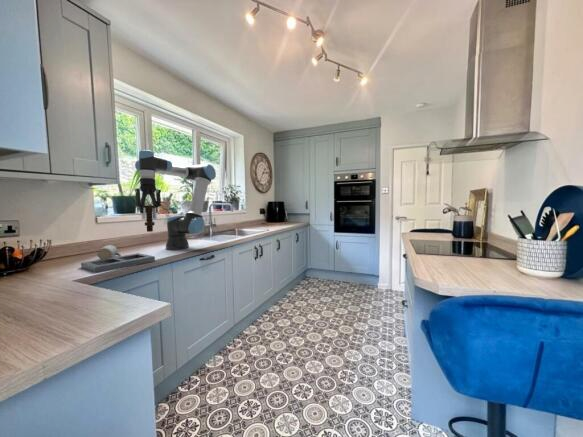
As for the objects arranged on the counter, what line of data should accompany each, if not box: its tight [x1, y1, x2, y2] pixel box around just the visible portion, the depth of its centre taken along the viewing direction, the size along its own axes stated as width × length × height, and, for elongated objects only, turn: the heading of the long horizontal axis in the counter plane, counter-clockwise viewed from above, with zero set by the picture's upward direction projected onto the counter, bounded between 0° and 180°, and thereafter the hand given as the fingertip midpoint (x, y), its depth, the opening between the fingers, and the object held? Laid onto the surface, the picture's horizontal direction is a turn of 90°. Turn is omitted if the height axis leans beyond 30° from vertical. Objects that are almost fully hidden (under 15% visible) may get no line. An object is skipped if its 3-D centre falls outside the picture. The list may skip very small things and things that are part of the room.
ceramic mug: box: [96, 244, 122, 260], centre depth 143 cm, size 11×8×8 cm
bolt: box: [143, 204, 155, 233], centre depth 139 cm, size 6×5×15 cm
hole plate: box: [80, 252, 156, 274], centre depth 129 cm, size 27×19×2 cm
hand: (149, 218), depth 139 cm, fingers closed on bolt, 5 cm apart
